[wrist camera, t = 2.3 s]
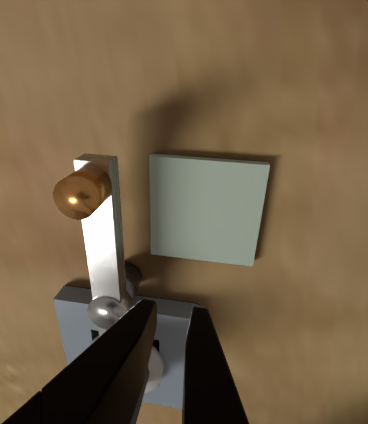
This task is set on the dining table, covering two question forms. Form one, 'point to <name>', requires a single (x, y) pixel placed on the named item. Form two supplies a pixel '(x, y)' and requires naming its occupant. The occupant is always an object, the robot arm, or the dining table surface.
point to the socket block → (165, 332)
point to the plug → (148, 376)
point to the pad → (206, 207)
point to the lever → (100, 235)
